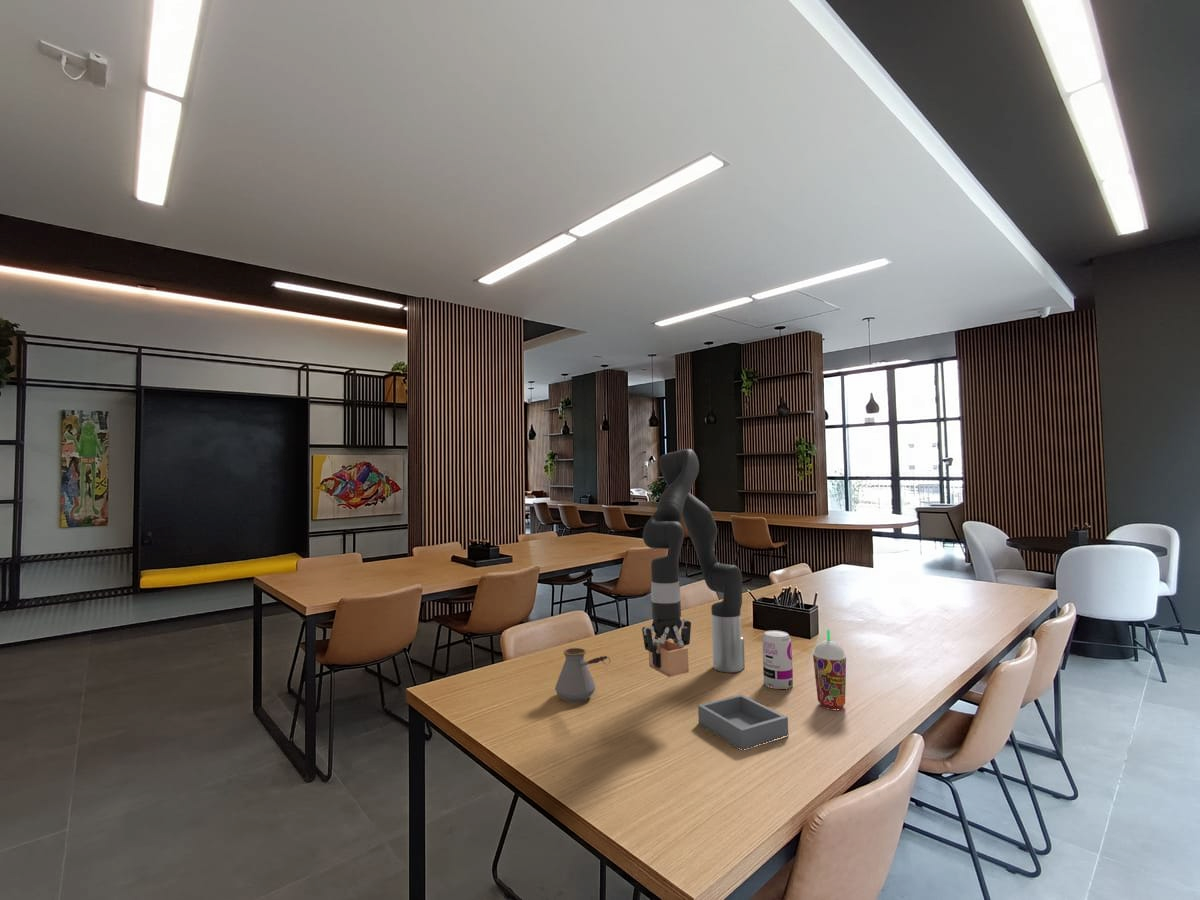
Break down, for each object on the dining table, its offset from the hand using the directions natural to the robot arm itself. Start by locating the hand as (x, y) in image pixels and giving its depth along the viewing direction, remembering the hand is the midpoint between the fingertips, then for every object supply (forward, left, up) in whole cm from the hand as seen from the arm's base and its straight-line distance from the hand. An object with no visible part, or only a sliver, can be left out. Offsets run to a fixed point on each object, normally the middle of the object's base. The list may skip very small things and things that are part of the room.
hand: (668, 664), depth 140 cm
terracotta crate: (0, 0, -1) cm, 1 cm away
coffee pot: (+14, -20, -14) cm, 28 cm away
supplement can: (-41, -3, -14) cm, 43 cm away
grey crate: (-12, +14, -14) cm, 23 cm away
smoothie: (-42, +15, -14) cm, 46 cm away
